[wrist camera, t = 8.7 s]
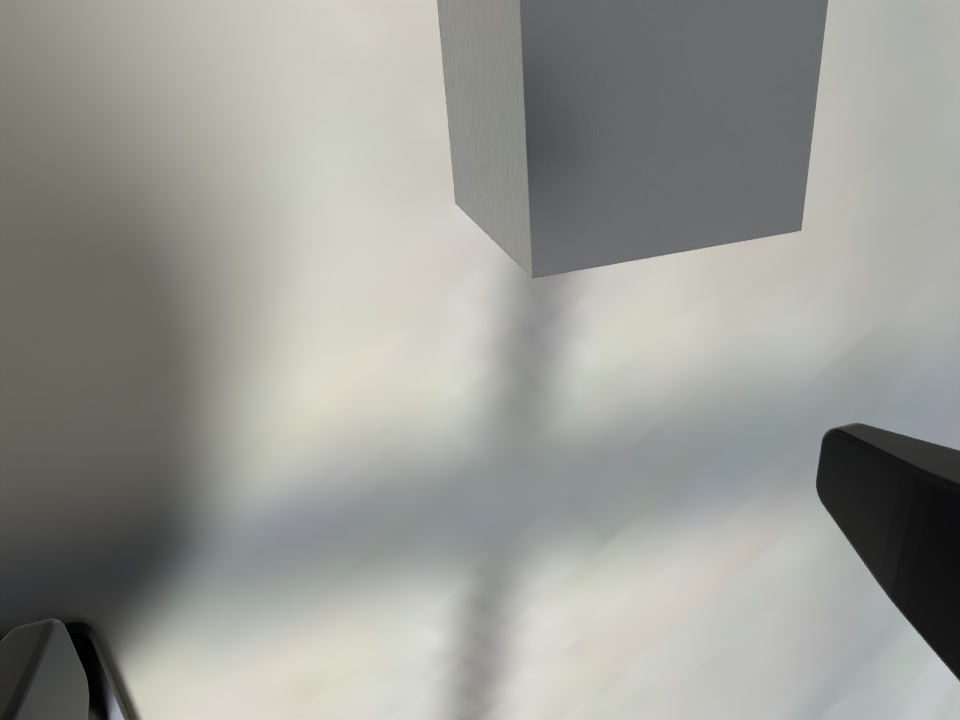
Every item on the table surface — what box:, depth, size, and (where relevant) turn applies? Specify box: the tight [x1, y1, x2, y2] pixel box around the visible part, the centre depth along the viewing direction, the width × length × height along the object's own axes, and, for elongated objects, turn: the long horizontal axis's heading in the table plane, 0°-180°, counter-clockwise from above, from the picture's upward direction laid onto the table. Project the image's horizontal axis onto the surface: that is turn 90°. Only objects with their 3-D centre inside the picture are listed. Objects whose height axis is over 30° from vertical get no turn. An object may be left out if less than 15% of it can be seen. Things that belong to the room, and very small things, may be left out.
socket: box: [437, 0, 828, 278], centre depth 17 cm, size 7×6×6 cm
